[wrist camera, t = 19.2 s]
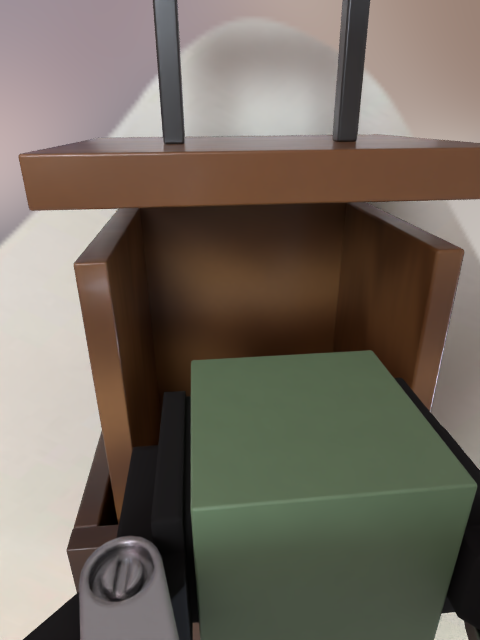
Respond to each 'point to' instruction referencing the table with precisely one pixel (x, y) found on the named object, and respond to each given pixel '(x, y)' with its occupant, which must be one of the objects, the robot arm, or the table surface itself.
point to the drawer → (252, 246)
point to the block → (319, 501)
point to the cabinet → (96, 518)
